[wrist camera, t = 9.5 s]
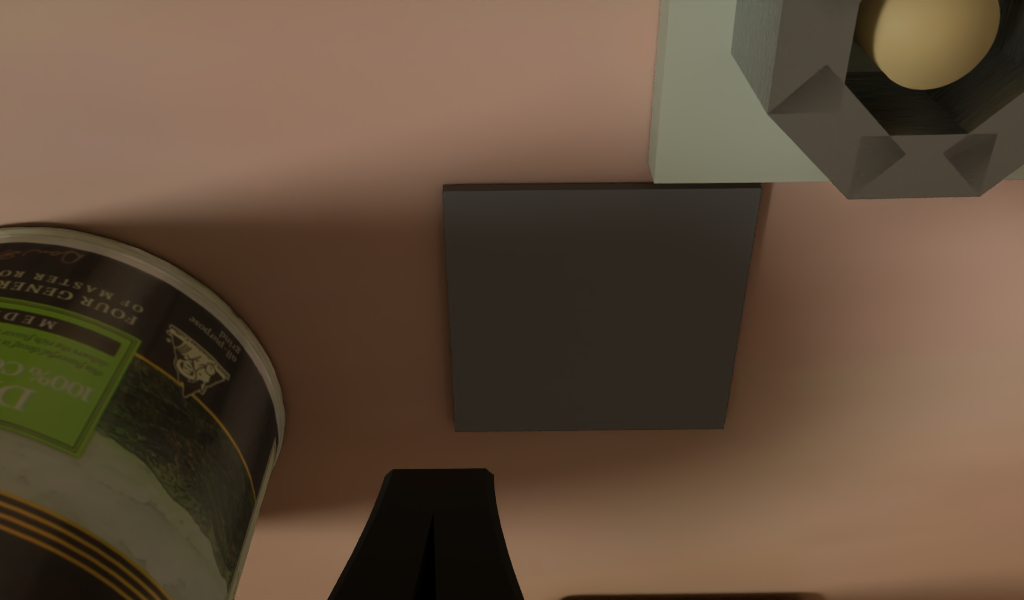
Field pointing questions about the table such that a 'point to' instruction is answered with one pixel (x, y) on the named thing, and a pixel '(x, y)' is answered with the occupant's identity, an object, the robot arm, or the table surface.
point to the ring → (883, 104)
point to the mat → (596, 303)
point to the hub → (739, 114)
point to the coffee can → (125, 425)
